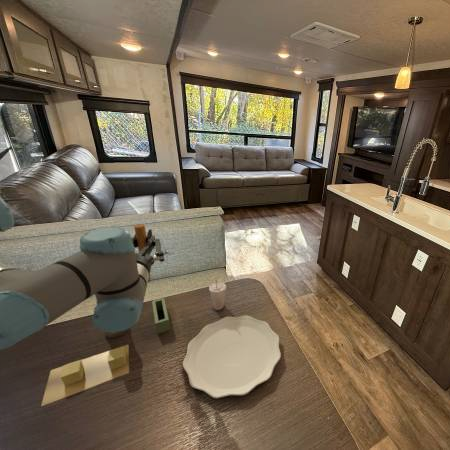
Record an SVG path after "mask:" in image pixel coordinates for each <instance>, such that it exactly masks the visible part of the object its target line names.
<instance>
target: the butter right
mask: <svg viewBox="0 0 450 450" xmlns="http://www.w3.org/2000/svg"><path fill="white" fill-rule="evenodd" d="M124 346H125V345H122V346H119V347H116V348H113V349H110V350H108V351H109V355H108V364H109V367H110V370H113V369H116V368H118V367H121V366H124V365H126V353H125V349H124Z"/></svg>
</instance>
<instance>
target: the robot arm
mask: <svg viewBox="0 0 450 450" xmlns="http://www.w3.org/2000/svg"><path fill="white" fill-rule="evenodd" d="M14 226H15V217H14V214H13V213H12V211H11V209H10V207H9V206H8V205H7V203H6V202H5V201H4V199H3V198H2V197H1V196H0V233H4V232H7V231H8V230H11V229H12V228H13V227H14ZM146 236H147V237H146V241H147V243H146V245H145V246H144V248H143V249H141V251H140V252H139V251H138V252H136V249H138V245H137V239H136V234H135V233H134V236H131V233H130V232H129V231H128V230H127V229H125V228H122V227H121V228H120V227H116V226H109V227H108V226H106V227H101V228H95V229H92V230H89V231H87V232H86V233H84V234H83V235H82V236H81V237H80V238H79V249H80V250H79V251H78V252H75V253H73V254H71V255H69V256H66V257H65V258H62V259H61V260H58V261H55V262H53V263H51V264H49V265H47V266H45V267H43V268H40V269H38V270H35V271H29V270H26V269H22V268H19V267H16V266H12V265H9V264H6V263H2V262H0V350H5V349H8V348H10V347H12V346H14V345H15V344H18V343H19V342H20V341H22V340H24V339H25V338H28V337H29V336H31V335H34V334H36V333H38V332H40V331H41V330H42V329H44V328H45V327H47V326H48V325H50V324H51V323H52V322H54V321H56V320H57V319H59V318H60V317H62V316H63V315H64V314H67V312H69V311H71V310H73V309H74V308H75V307H77V306H79V305H80V304H82V303H83V302H84V301H87V300H88V299H90V298H91V297H93V296H94V295H95V300H96V301H97V304H96V305H95V307H94V308H93V313H92V314H93V315H92V323H93V325H94V327H96V328H97V329H98V330H99V331H102V332H104V331H105V332H111V333H112V332H121V331H124V330H127V329H128V330H130V329H131V328H132V327H134V326H135V325H136V324H137V323H138V321H139V319H140V317H141V314H142V312H143V309H144V301H145V296H146V291H147V286H148V279H149V275H150V276H151V270H152V266H153V265H154V264H155V262H157V261H159V262H161V263H163V262H165V253H164V252H163V250H162V245H161V239H160V238H156V236H155V235H154V234H153V230H152V229H148V231H147V233H146ZM154 249H155V252H154V253H155V254H154V255H151V253H152V252H153V250H154Z"/></svg>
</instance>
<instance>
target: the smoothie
mask: <svg viewBox="0 0 450 450" xmlns="http://www.w3.org/2000/svg"><path fill="white" fill-rule="evenodd" d="M226 291H227V285H226V283H224V282H221V281H218V278H217V277H215V282H214V283H211V284H210V285H209V287H208V292H209V293H210V296H211V300H212V301H211V302H212V305H213V309H214V310H216V311H219V310H222V309H224V306H225V297H226Z"/></svg>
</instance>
